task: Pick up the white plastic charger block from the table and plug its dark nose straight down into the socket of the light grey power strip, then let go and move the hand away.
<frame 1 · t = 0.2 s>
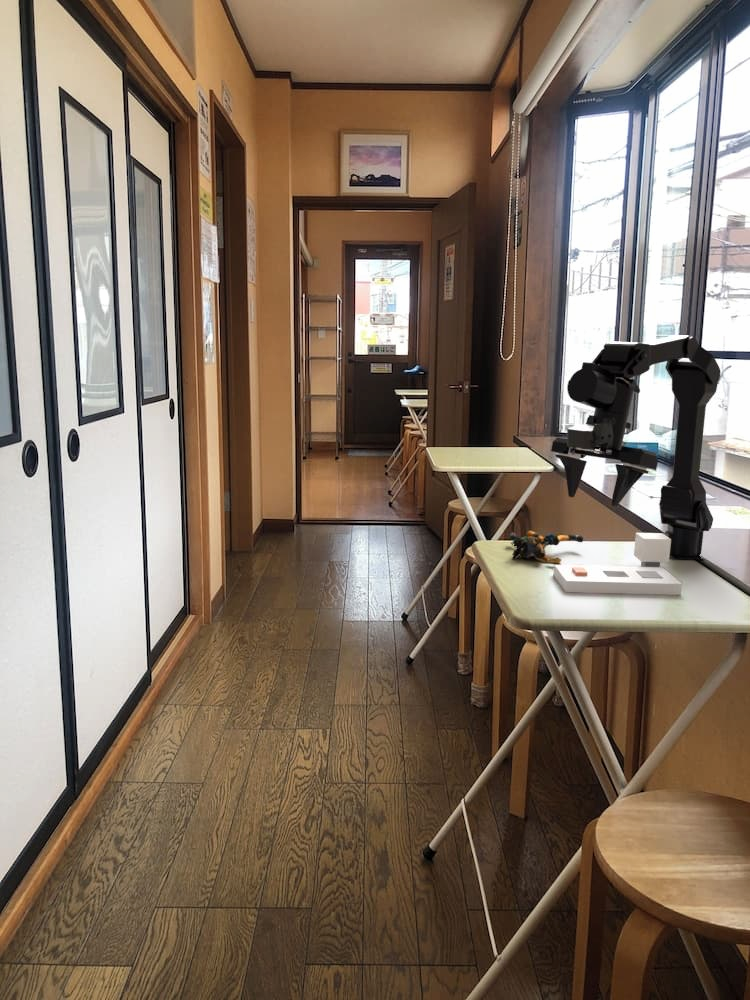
hand: (592, 501, 142), 15 cm above the table, tool pointing down, fingers open, 9 cm apart
action figure: (544, 558, 164), on the table
power strip: (614, 584, 146), on the table
charger: (650, 568, 157), on the table
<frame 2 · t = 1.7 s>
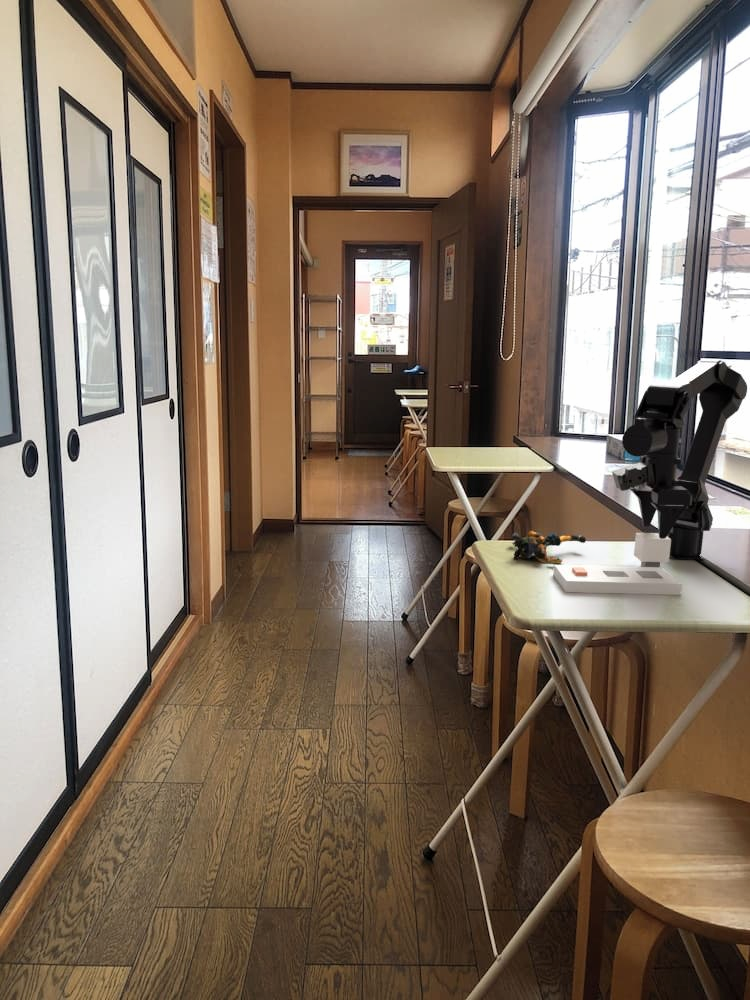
hand: (653, 532, 156), 7 cm above the table, tool pointing down, fingers open, 9 cm apart
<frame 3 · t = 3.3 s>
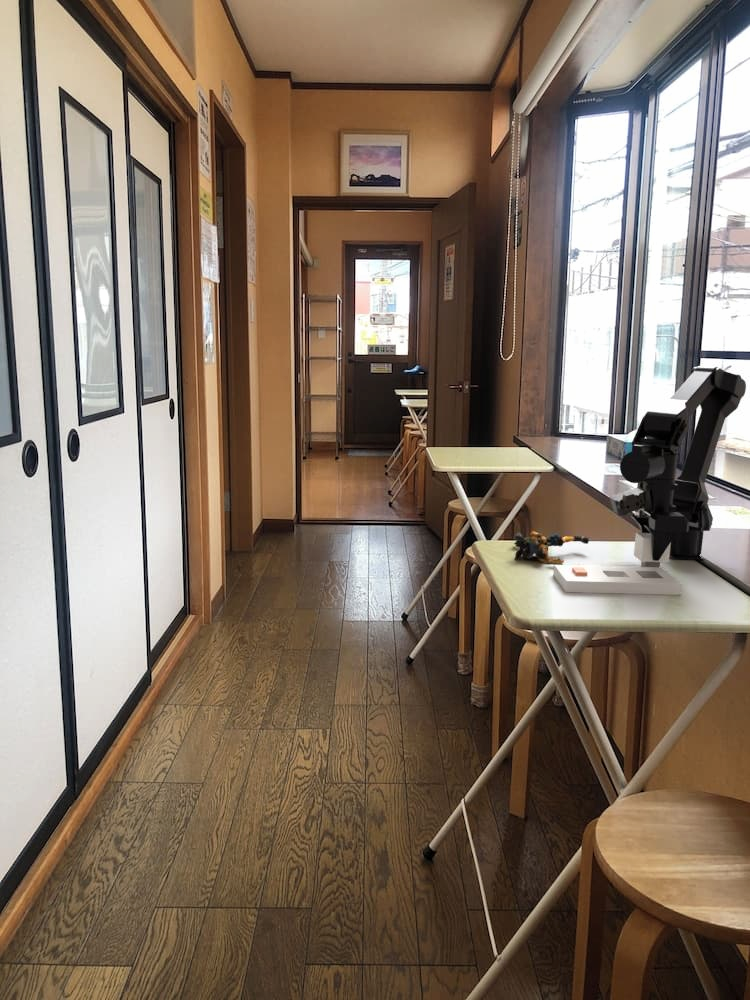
hand: (651, 556, 157), 2 cm above the table, tool pointing down, fingers closed on charger, 5 cm apart
charger: (650, 568, 157), on the table, touching gripper
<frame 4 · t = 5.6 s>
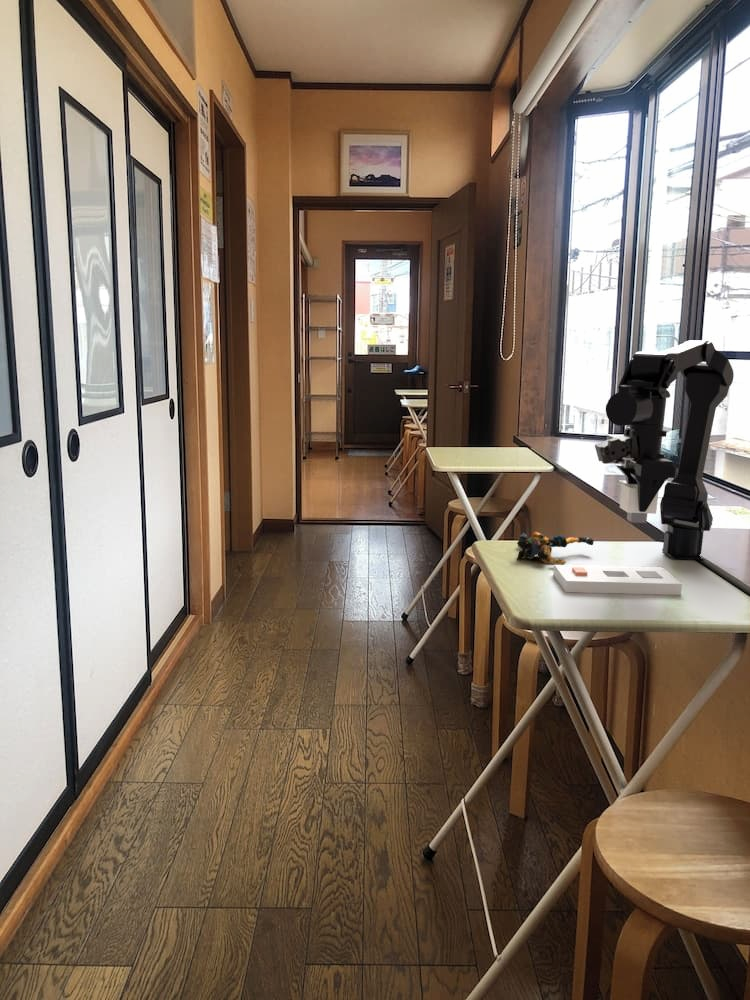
hand: (637, 508, 148), 13 cm above the table, tool pointing down, fingers closed on charger, 5 cm apart
charger: (636, 521, 149), point 11 cm above the table, touching gripper
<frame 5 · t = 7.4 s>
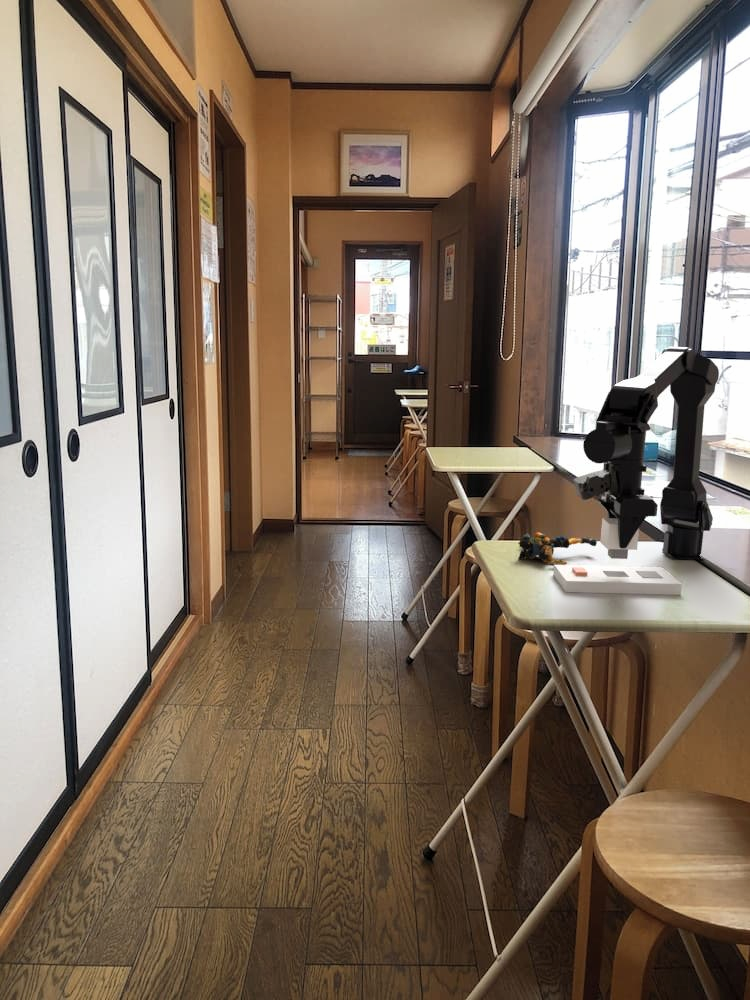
hand: (618, 544, 145), 7 cm above the table, tool pointing down, fingers closed on charger, 5 cm apart
charger: (617, 556, 145), point 5 cm above the table, touching gripper
when the fingers open (3 cm above the table, at t = 9.1 s): charger stays where it is, resting on power strip.
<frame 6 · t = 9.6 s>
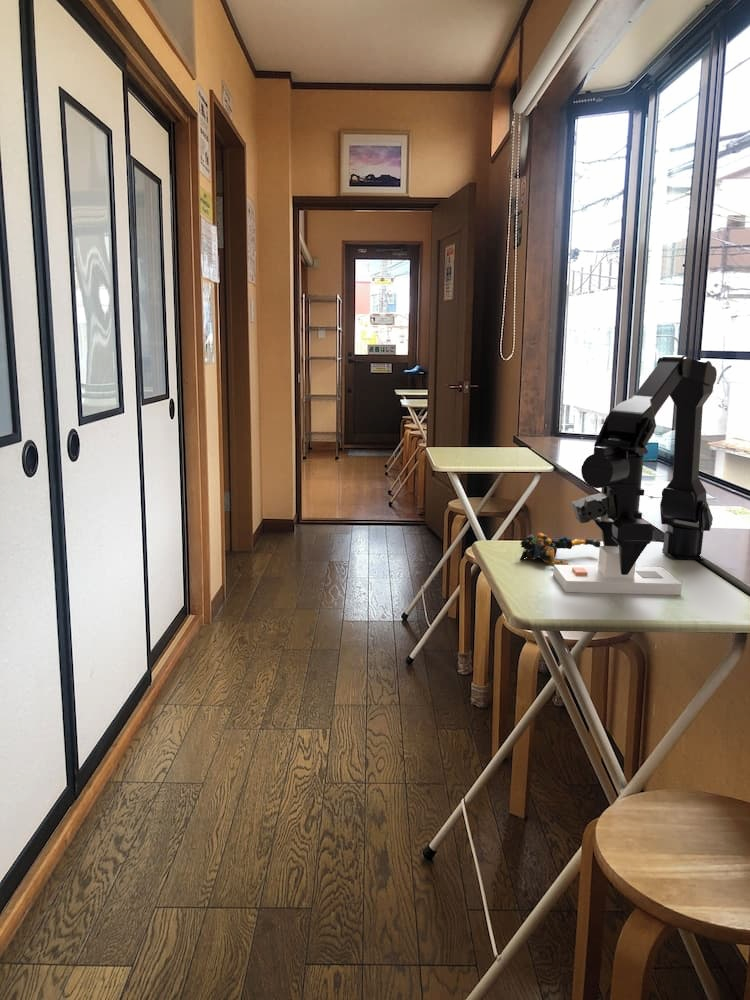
hand: (616, 566, 146), 3 cm above the table, tool pointing down, fingers open, 9 cm apart
charger: (614, 584, 146), resting on power strip
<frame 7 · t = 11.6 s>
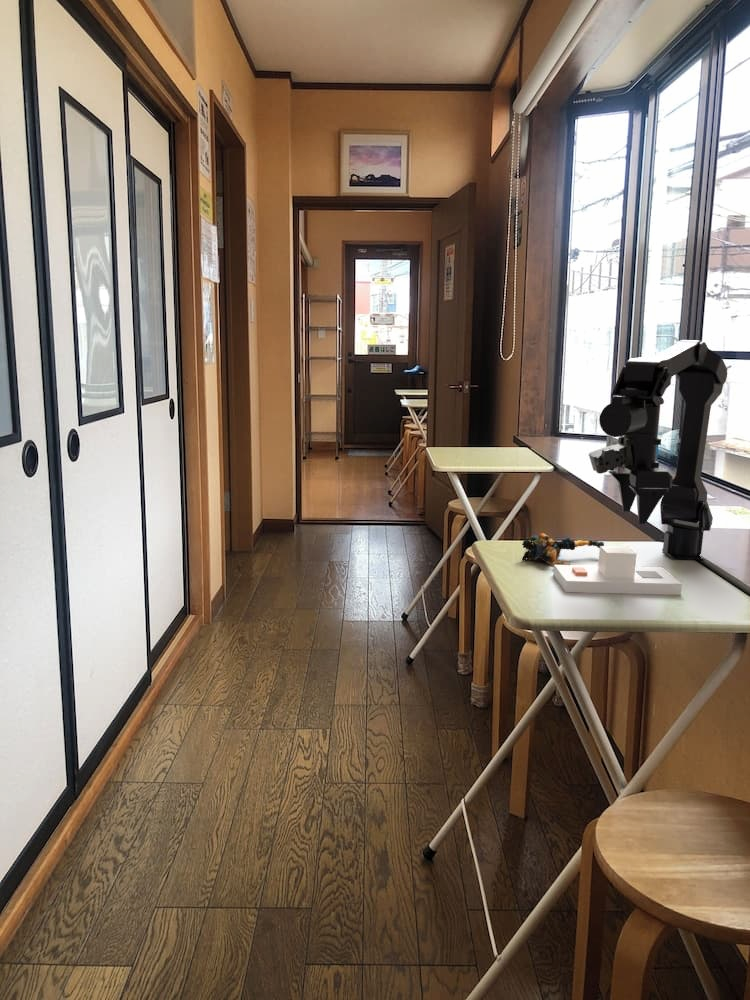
hand: (633, 517, 147), 12 cm above the table, tool pointing down, fingers open, 9 cm apart
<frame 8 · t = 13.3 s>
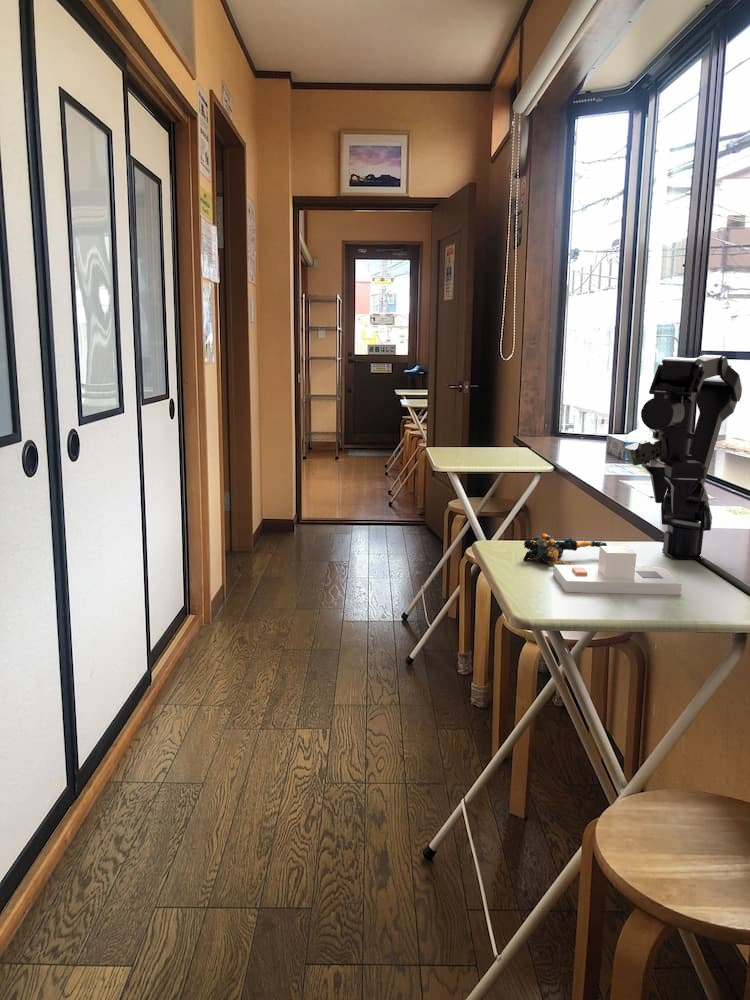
hand: (666, 508, 155), 12 cm above the table, tool pointing down, fingers open, 9 cm apart
at the end: charger 0.0 cm off-centre on the power strip, point 0.0 cm above the power strip's base; charger tilted 0°; the gripper is holding nothing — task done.
